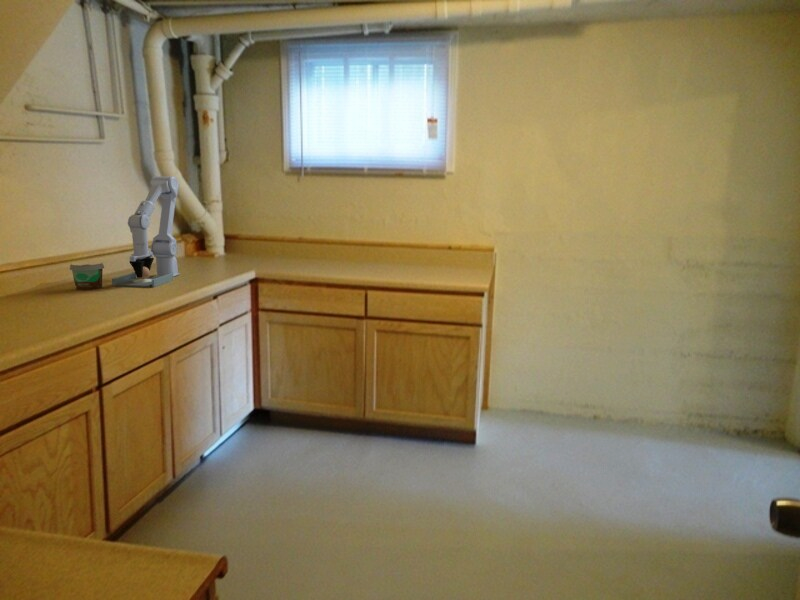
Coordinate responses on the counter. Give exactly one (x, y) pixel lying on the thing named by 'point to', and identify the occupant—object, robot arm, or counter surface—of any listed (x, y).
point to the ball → (145, 273)
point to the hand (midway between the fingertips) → (143, 276)
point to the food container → (87, 276)
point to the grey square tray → (132, 275)
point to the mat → (137, 282)
